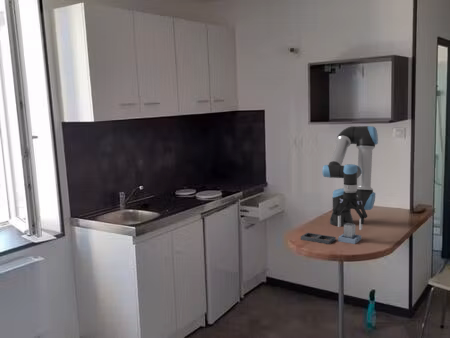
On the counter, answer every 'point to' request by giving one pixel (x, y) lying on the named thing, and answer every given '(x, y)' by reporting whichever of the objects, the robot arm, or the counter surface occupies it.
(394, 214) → the counter surface
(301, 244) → the counter surface
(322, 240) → the rack frame
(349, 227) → the grey rectangular block
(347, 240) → the parts tray
